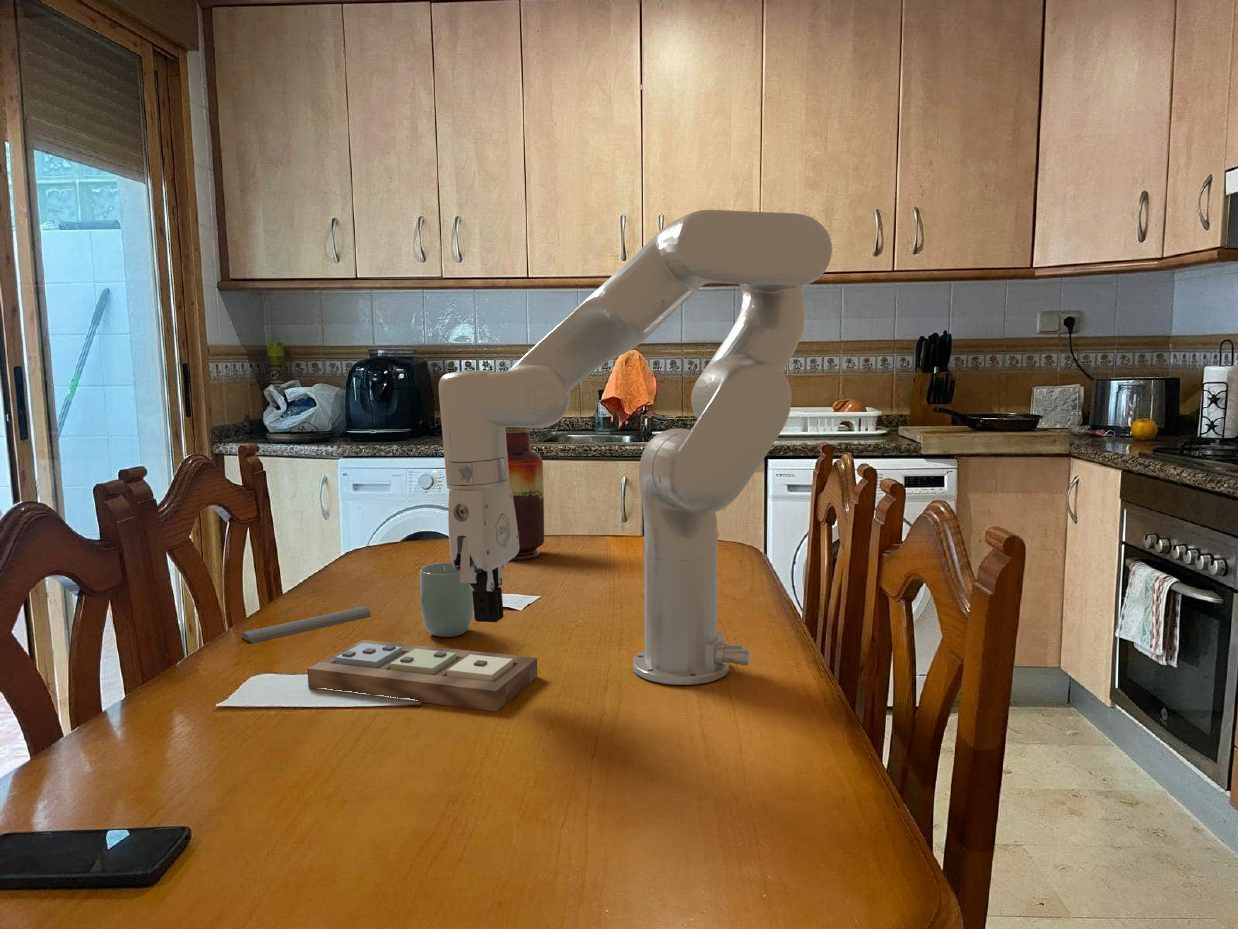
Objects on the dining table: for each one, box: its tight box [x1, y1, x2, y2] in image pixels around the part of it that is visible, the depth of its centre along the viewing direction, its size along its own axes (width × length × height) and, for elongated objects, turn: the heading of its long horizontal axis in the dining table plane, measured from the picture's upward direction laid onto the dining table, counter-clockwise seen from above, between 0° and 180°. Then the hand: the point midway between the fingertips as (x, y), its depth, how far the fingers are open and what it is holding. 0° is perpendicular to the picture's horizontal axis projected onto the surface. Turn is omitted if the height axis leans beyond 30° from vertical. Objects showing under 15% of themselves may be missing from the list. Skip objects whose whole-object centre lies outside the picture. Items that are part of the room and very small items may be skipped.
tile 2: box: [390, 649, 456, 675], centre depth 114 cm, size 6×6×3 cm
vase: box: [505, 428, 545, 562], centre depth 185 cm, size 11×11×26 cm
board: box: [306, 639, 538, 712], centre depth 114 cm, size 26×12×2 cm, turn 72°
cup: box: [419, 561, 474, 638], centre depth 134 cm, size 8×8×10 cm
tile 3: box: [335, 643, 402, 669], centre depth 116 cm, size 6×6×3 cm
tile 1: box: [447, 654, 513, 682], centre depth 111 cm, size 6×6×3 cm
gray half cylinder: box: [240, 605, 371, 644], centre depth 138 cm, size 4×20×2 cm, turn 134°
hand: (489, 619), depth 111 cm, fingers closed
